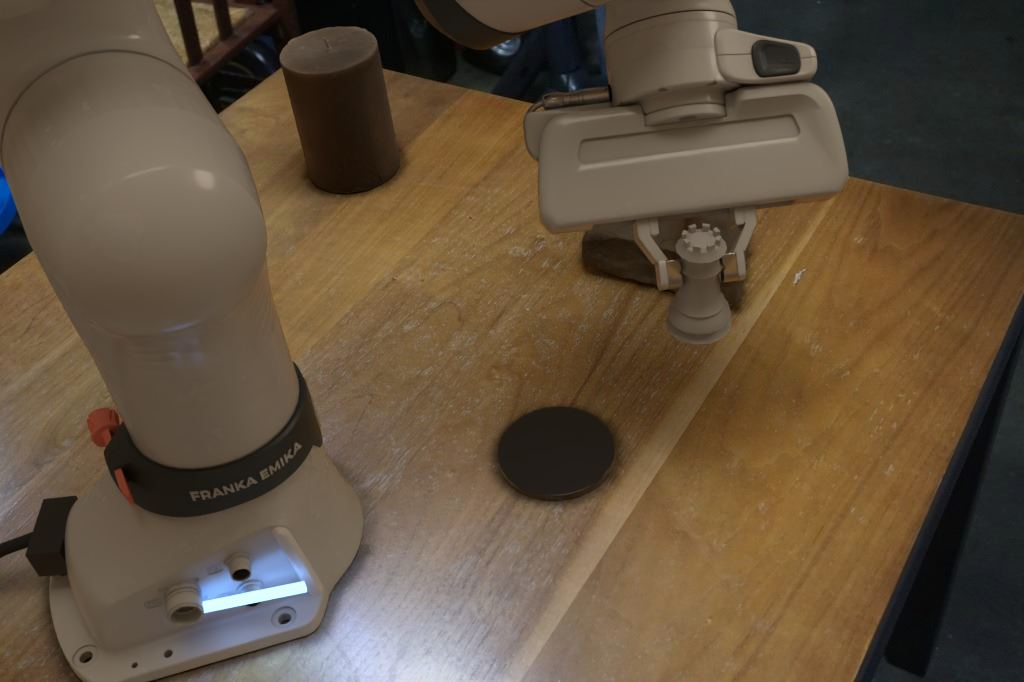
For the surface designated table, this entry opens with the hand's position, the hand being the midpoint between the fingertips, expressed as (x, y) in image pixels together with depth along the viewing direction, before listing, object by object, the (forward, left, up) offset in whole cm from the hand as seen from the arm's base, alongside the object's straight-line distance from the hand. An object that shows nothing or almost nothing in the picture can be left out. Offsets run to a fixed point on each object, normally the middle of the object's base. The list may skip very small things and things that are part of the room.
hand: (702, 284), depth 72 cm
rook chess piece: (0, +1, -5) cm, 5 cm away
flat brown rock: (+12, +22, -16) cm, 30 cm away
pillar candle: (-8, +51, -16) cm, 54 cm away
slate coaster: (-9, +5, -16) cm, 19 cm away
